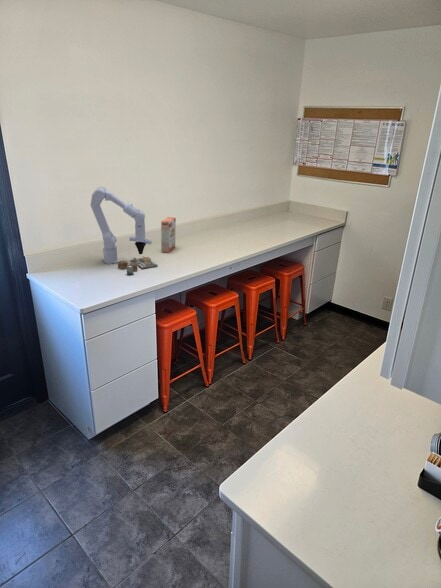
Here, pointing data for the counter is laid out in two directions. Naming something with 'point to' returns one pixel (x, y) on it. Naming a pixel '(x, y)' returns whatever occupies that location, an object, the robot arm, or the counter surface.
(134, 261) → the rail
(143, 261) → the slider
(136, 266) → the walnut block
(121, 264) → the walnut block
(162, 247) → the cracker box
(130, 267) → the metal peg
